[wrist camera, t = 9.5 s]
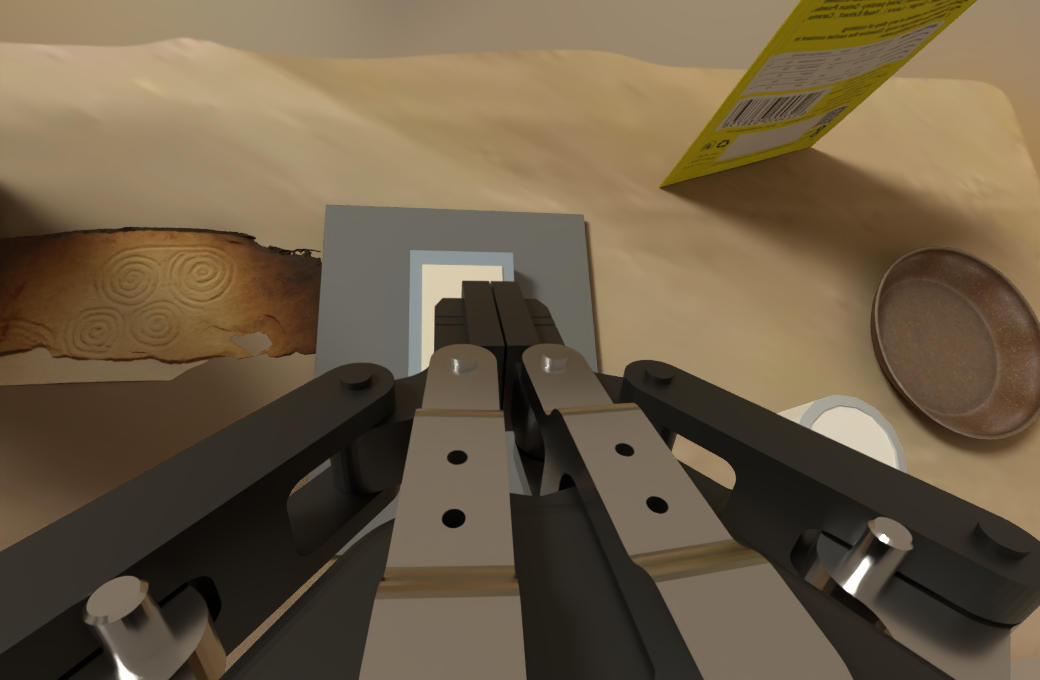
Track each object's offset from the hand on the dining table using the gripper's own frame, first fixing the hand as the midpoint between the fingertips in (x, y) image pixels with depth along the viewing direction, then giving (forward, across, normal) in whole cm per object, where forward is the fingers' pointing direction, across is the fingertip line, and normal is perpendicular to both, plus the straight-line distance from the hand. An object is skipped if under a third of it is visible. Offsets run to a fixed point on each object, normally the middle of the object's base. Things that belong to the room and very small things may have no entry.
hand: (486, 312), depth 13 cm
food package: (+26, -23, 0) cm, 35 cm away
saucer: (+16, -37, +11) cm, 42 cm away
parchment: (+18, +18, +9) cm, 27 cm away
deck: (+12, 0, +12) cm, 17 cm away
